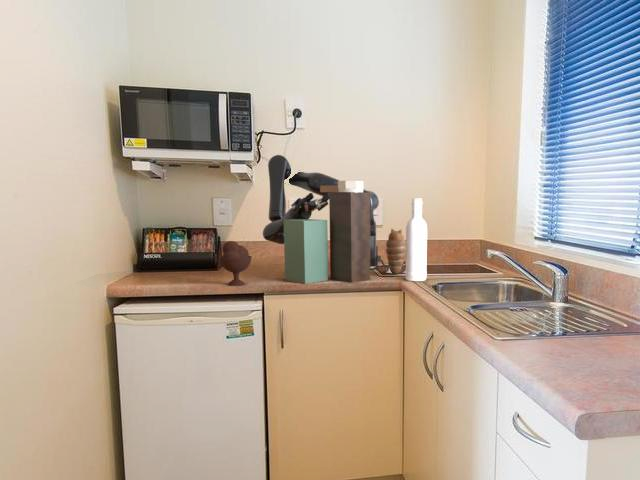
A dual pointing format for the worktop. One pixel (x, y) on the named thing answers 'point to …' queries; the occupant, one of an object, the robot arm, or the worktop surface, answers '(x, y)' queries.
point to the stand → (349, 236)
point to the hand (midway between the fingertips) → (320, 195)
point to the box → (306, 250)
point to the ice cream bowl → (235, 260)
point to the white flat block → (344, 187)
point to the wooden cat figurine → (395, 250)
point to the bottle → (416, 244)
